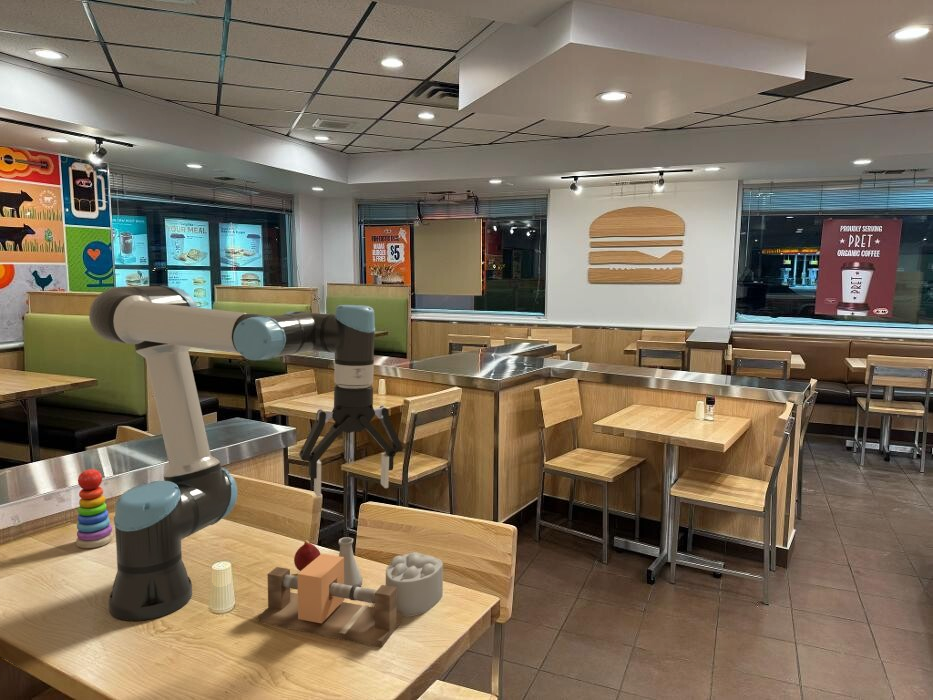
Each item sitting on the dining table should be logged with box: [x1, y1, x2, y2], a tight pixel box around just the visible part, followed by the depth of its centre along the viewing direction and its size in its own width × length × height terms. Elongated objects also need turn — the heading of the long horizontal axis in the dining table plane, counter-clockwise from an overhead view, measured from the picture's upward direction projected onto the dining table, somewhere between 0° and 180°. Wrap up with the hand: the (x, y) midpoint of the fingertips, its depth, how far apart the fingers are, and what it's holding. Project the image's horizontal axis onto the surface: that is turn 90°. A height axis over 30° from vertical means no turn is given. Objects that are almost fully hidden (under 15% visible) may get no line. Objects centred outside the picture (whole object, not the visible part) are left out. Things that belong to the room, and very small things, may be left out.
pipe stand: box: [257, 566, 404, 648], centre depth 120 cm, size 26×10×8 cm, turn 74°
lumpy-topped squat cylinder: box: [385, 551, 444, 617], centre depth 128 cm, size 10×13×9 cm
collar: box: [297, 553, 345, 623], centre depth 121 cm, size 5×9×9 cm, turn 164°
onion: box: [293, 539, 322, 572], centre depth 139 cm, size 6×6×8 cm
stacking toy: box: [75, 468, 114, 549], centre depth 152 cm, size 8×8×19 cm
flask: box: [338, 536, 363, 587], centre depth 135 cm, size 7×7×10 cm
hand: (351, 489), depth 123 cm, fingers open, 13 cm apart
